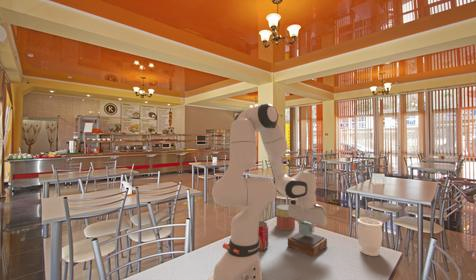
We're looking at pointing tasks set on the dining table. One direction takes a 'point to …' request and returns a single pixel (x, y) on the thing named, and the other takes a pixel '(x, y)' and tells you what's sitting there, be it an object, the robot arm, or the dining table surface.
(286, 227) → the canned food
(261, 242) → the beverage can
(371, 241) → the jar
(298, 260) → the dining table surface
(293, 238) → the walnut picture frame
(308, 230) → the pale green block
